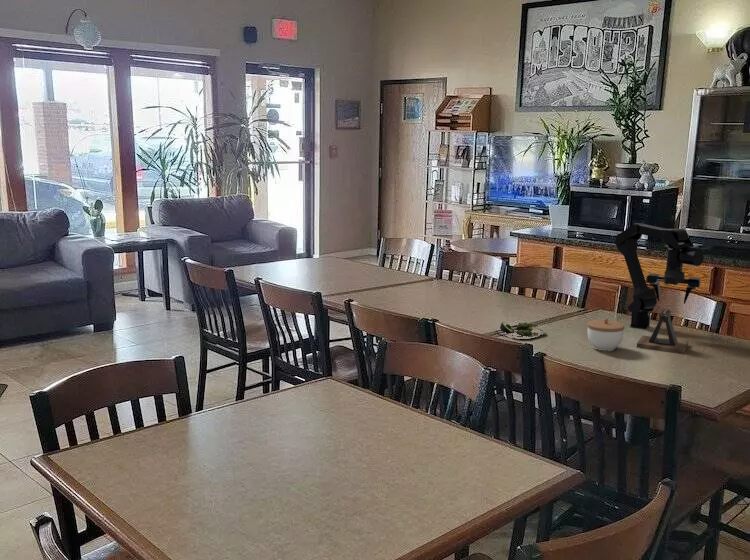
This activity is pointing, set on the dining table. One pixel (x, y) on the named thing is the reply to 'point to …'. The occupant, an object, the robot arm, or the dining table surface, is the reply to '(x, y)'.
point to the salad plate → (520, 329)
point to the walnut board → (678, 348)
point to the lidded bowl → (605, 334)
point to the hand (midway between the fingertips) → (671, 302)
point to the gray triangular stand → (670, 330)
